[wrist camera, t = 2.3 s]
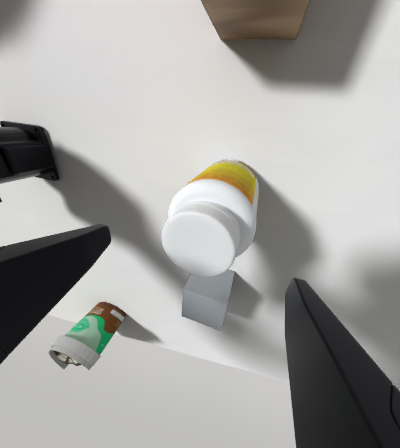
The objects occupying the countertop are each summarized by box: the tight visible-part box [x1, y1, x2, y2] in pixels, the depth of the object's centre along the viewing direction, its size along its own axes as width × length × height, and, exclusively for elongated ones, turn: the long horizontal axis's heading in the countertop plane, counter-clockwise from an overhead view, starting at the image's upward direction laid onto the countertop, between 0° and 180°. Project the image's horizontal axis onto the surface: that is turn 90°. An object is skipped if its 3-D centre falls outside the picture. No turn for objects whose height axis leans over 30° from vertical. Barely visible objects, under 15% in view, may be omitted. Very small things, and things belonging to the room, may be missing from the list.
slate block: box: [182, 269, 235, 330], centre depth 22 cm, size 5×5×5 cm
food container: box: [49, 302, 127, 370], centre depth 34 cm, size 12×6×10 cm, turn 128°
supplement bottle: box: [162, 159, 259, 277], centre depth 13 cm, size 6×6×10 cm
